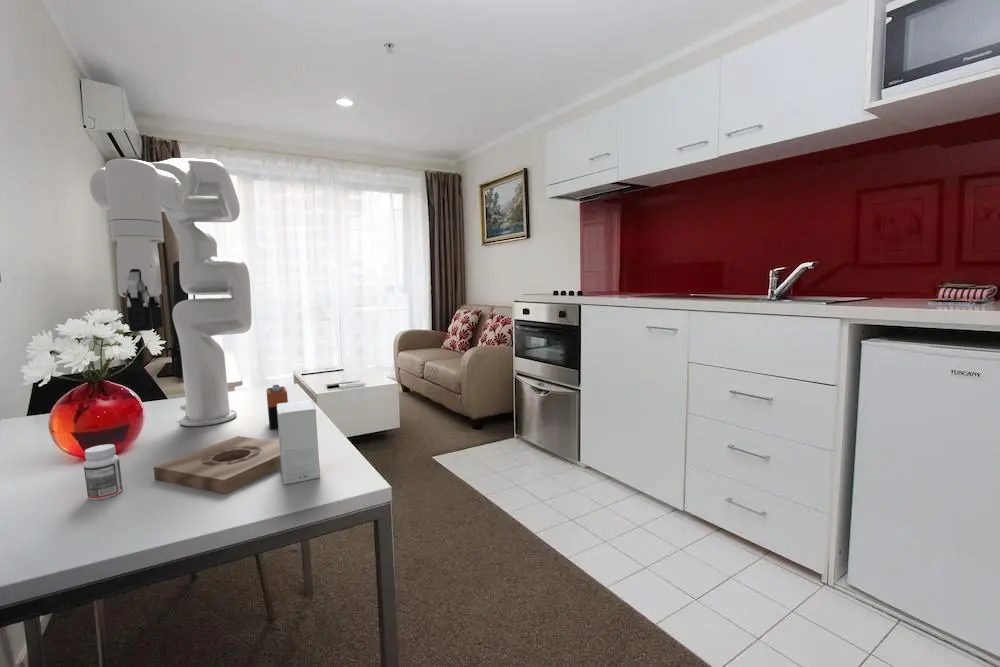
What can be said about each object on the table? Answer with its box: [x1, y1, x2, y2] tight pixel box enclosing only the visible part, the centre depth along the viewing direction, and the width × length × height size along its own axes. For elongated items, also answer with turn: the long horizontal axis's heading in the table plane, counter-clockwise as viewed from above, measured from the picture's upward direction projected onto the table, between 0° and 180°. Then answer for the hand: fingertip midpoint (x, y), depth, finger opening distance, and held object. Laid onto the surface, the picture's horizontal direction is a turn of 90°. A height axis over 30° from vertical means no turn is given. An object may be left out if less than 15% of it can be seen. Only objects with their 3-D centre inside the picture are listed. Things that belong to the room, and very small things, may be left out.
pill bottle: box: [83, 443, 124, 501], centre depth 84 cm, size 5×5×8 cm
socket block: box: [153, 435, 281, 495], centre depth 95 cm, size 18×18×2 cm
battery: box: [266, 384, 289, 430], centre depth 121 cm, size 4×7×10 cm, turn 28°
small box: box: [277, 399, 321, 486], centre depth 90 cm, size 8×6×13 cm
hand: (147, 329), depth 88 cm, fingers open, 9 cm apart
